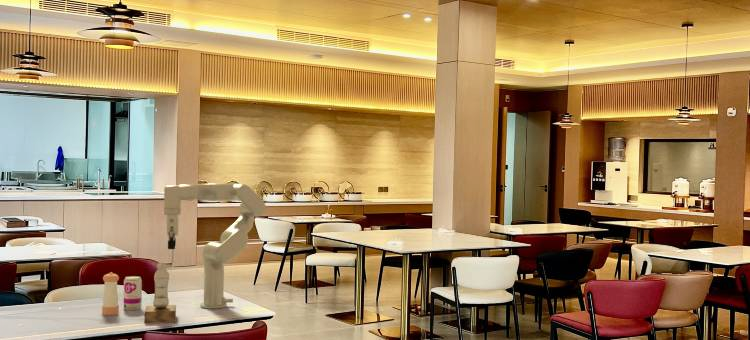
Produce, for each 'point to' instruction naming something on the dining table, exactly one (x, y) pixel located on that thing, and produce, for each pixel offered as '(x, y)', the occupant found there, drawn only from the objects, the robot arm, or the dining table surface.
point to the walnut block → (160, 314)
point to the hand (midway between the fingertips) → (171, 247)
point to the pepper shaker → (110, 295)
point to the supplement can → (132, 293)
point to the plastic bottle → (161, 287)
